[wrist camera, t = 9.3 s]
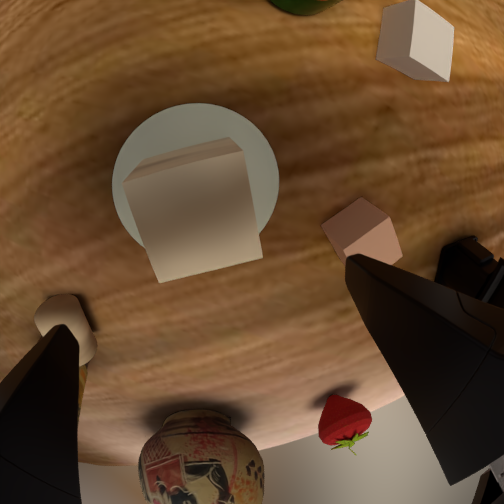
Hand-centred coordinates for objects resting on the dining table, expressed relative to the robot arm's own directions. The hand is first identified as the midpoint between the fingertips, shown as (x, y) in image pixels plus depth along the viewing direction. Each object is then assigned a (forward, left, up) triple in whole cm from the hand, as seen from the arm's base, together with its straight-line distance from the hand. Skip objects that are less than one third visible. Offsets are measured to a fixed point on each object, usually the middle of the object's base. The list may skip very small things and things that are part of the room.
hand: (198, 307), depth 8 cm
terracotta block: (-6, -11, -12) cm, 17 cm away
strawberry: (-32, -10, -12) cm, 36 cm away
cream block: (+9, -17, -12) cm, 23 cm away
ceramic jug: (-30, +10, -12) cm, 34 cm away
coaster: (0, 0, -12) cm, 12 cm away
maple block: (0, 0, -11) cm, 11 cm away
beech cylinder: (-6, +13, -10) cm, 18 cm away
